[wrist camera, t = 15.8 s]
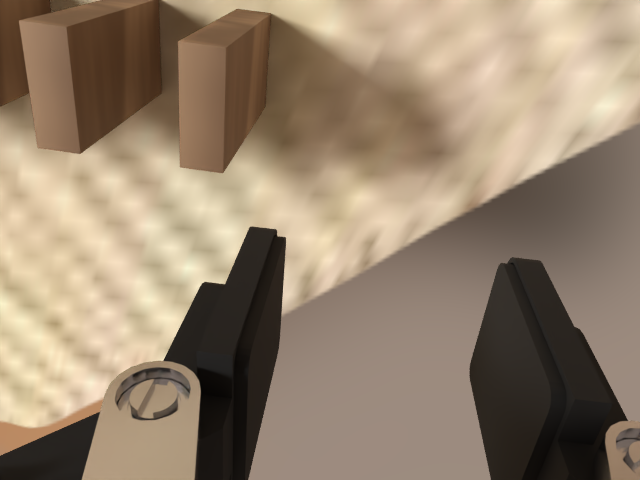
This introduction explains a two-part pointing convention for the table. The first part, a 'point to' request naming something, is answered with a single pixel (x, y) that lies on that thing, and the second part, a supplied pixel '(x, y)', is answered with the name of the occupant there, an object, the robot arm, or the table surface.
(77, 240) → the table surface
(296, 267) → the table surface
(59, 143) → the tile
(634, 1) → the table surface
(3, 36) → the tile
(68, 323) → the table surface
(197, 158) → the brown wooden block
